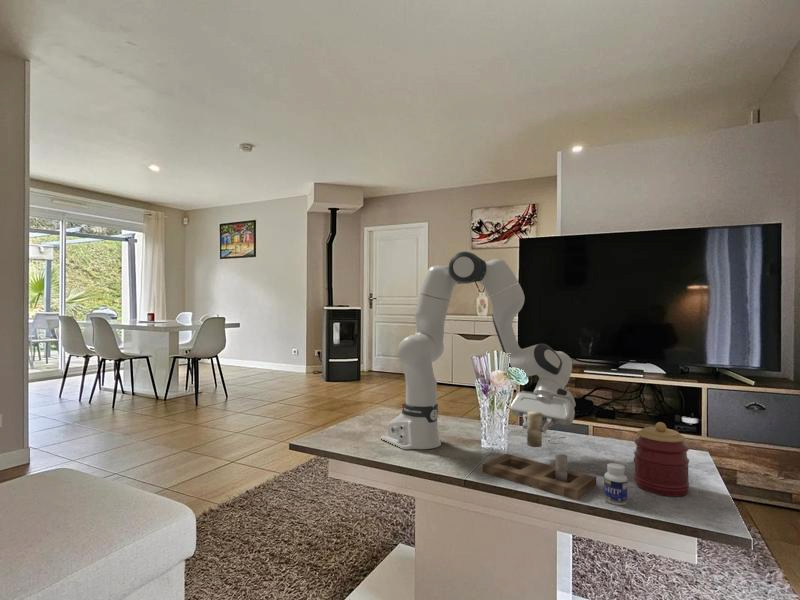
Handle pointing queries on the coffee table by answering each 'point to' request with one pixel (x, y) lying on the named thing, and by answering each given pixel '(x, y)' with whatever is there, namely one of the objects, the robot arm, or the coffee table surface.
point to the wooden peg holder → (542, 475)
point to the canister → (661, 461)
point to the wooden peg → (534, 429)
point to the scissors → (553, 440)
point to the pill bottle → (615, 484)
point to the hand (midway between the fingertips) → (533, 429)
